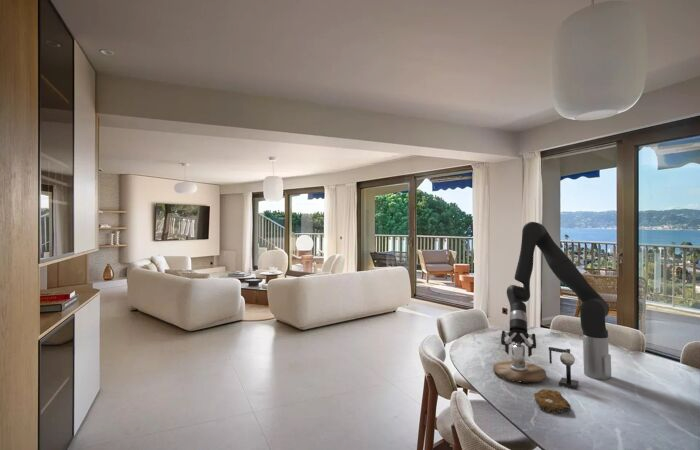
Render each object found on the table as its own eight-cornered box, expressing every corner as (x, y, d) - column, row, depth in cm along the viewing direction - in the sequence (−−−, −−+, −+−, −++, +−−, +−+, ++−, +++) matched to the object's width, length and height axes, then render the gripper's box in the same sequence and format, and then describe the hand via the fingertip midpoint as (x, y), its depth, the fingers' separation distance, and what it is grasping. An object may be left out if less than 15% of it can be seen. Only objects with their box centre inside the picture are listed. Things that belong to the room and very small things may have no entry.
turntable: (555, 374, 159) (555, 370, 159) (528, 386, 147) (528, 382, 147) (510, 360, 176) (510, 357, 176) (483, 370, 164) (483, 366, 164)
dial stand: (578, 384, 150) (577, 349, 150) (576, 389, 146) (574, 352, 146) (551, 378, 157) (550, 344, 157) (548, 383, 152) (547, 347, 152)
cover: (530, 369, 161) (529, 344, 161) (521, 372, 157) (521, 346, 157) (515, 364, 166) (515, 340, 166) (507, 368, 162) (506, 343, 163)
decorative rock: (529, 395, 142) (539, 416, 128) (529, 385, 142) (538, 404, 128) (562, 397, 139) (576, 417, 125) (561, 386, 139) (575, 405, 125)
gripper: (501, 316, 172) (500, 348, 161) (535, 319, 165) (536, 352, 155) (502, 325, 176) (501, 356, 166) (535, 328, 170) (536, 361, 160)
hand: (518, 354), depth 160 cm, fingers open, 8 cm apart
